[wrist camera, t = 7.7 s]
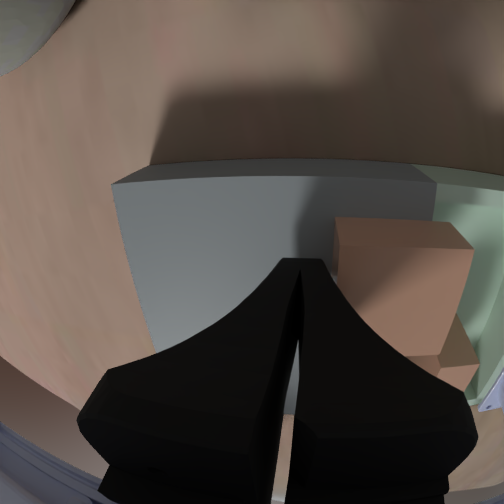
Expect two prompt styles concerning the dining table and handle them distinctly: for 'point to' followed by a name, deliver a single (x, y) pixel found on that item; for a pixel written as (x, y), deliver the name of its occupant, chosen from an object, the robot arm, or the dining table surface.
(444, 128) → the dining table surface
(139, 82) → the dining table surface
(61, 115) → the dining table surface
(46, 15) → the teacup
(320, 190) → the slate board
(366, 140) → the dining table surface
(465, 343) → the tile
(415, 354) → the tile
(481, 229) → the tray
